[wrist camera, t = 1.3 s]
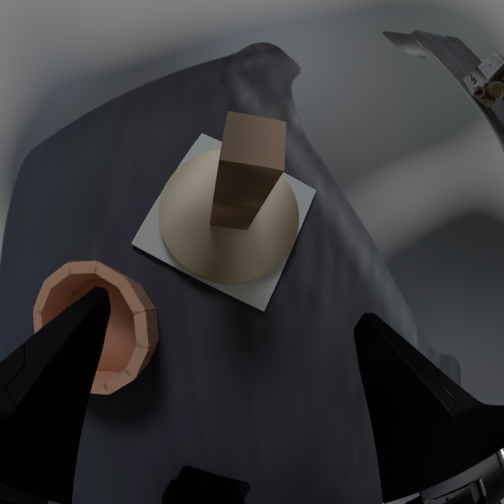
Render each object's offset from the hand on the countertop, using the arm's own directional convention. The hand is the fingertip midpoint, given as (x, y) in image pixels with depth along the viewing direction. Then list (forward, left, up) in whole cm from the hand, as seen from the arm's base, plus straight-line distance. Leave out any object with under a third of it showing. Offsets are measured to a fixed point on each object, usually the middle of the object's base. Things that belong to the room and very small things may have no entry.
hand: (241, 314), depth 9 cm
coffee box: (-36, -73, -13) cm, 82 cm away
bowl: (+8, +5, -13) cm, 16 cm away
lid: (+3, -8, -13) cm, 15 cm away
